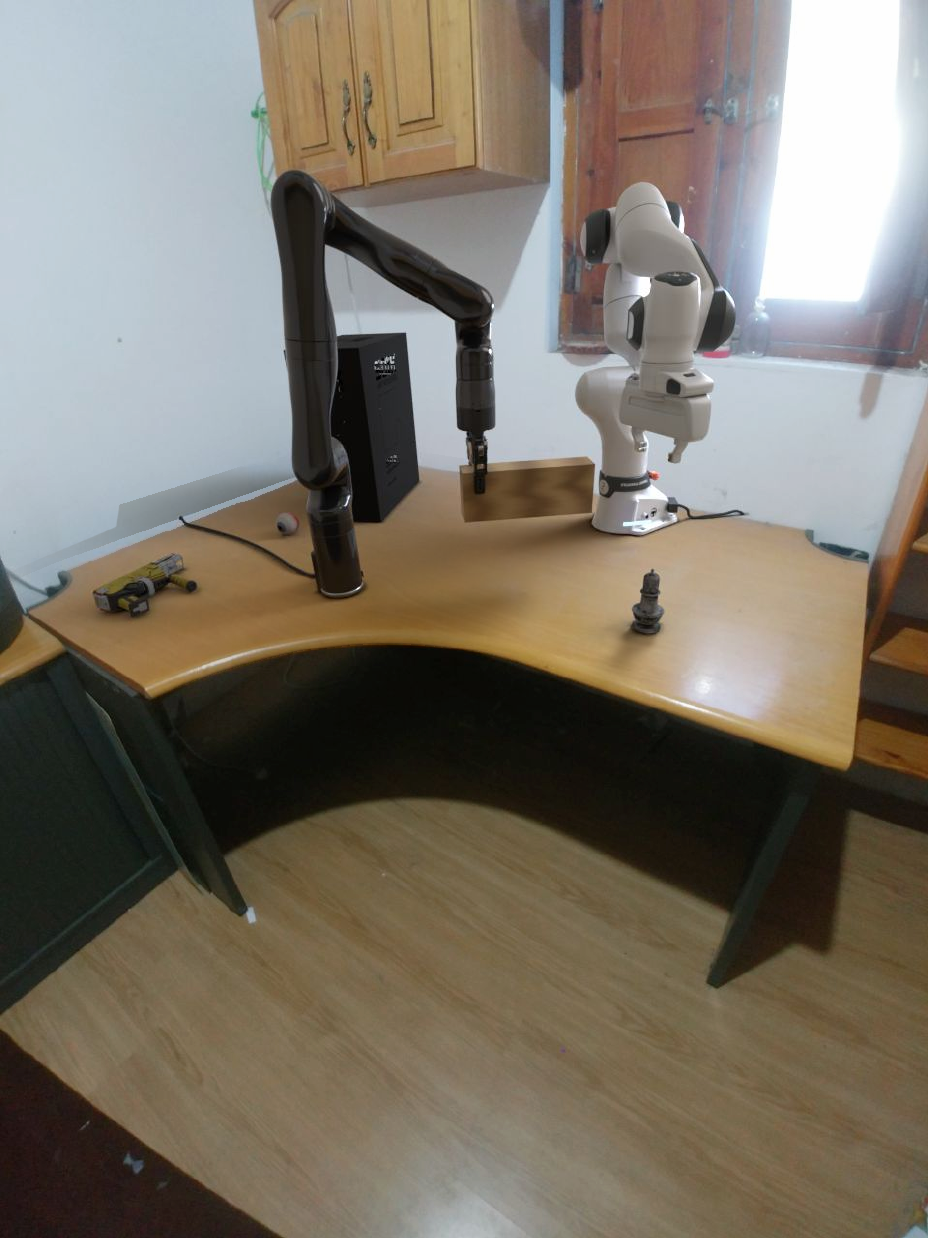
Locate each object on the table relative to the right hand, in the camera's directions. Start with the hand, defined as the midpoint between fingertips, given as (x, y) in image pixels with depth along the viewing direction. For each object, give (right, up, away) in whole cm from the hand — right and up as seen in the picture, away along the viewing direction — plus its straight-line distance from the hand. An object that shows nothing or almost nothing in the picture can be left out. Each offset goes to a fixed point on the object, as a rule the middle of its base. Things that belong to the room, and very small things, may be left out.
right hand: (656, 456), depth 113 cm
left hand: (-33, -4, +10) cm, 35 cm away
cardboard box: (-65, +7, +75) cm, 99 cm away
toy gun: (-105, -25, +24) cm, 111 cm away
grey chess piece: (-2, -32, +1) cm, 32 cm away
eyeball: (-84, -7, +52) cm, 99 cm away
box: (-23, -8, +14) cm, 28 cm away
